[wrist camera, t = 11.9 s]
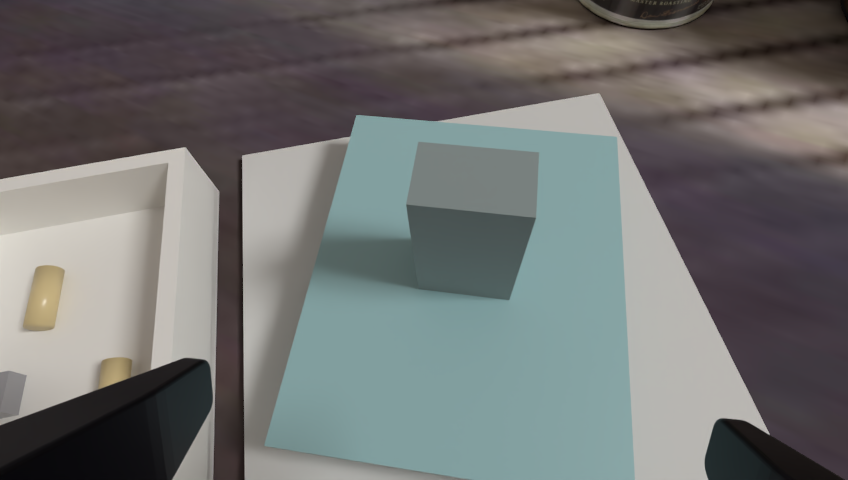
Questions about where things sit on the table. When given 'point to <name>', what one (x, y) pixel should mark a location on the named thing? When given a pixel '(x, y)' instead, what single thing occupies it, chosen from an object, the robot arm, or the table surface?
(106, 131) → the table surface
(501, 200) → the teal lid
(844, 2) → the ceramic jug
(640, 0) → the coffee can
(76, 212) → the parts tub
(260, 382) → the grey mat
